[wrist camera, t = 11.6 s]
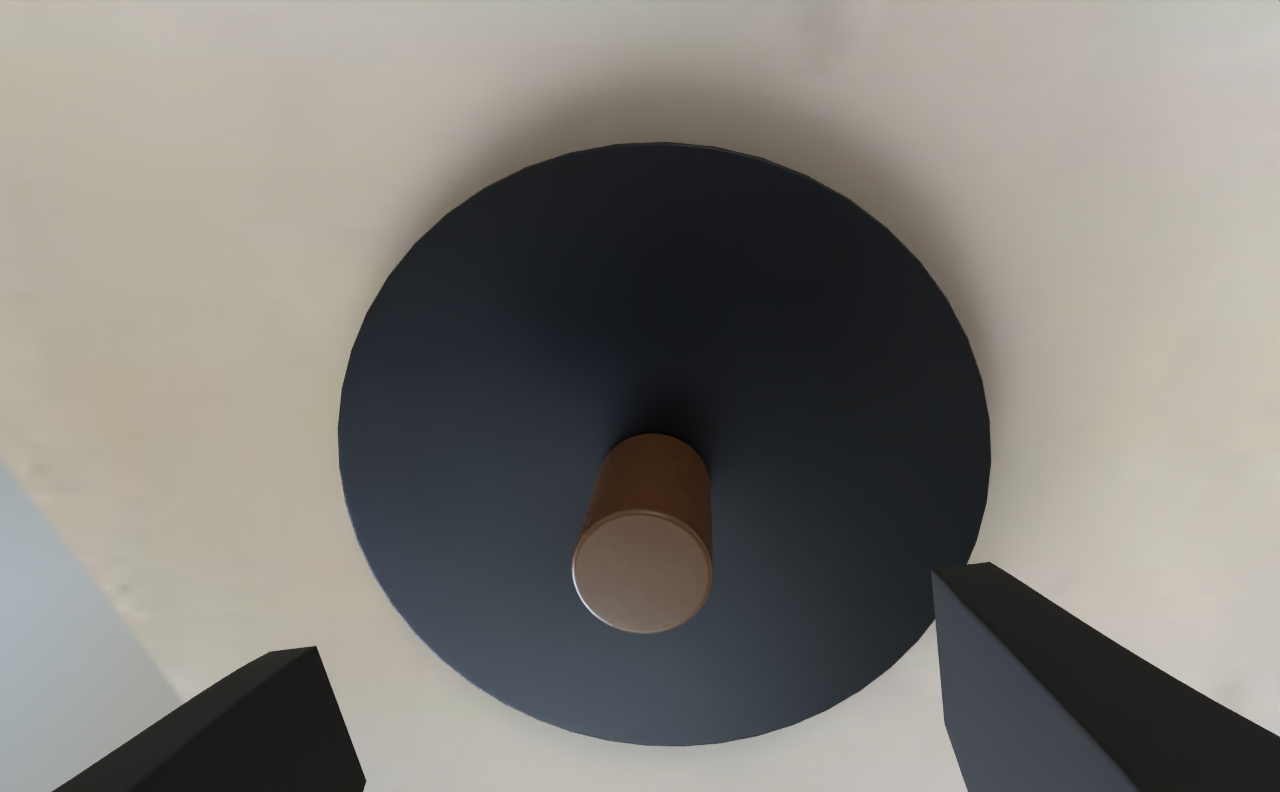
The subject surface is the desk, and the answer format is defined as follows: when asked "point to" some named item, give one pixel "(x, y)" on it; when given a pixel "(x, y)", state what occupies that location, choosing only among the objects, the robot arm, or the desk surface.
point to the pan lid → (663, 443)
